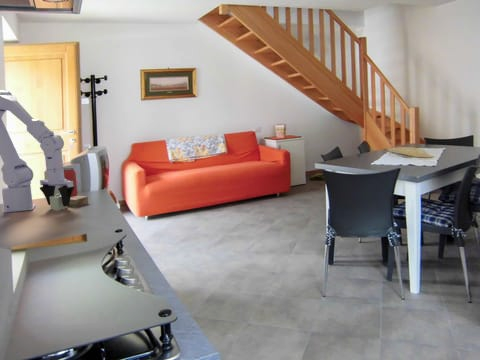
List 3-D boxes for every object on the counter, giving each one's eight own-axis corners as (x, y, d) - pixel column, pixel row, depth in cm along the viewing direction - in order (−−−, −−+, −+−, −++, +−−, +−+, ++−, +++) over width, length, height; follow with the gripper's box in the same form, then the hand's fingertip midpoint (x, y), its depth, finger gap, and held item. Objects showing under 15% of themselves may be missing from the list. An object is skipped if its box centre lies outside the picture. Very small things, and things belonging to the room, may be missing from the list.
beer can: (61, 196, 180) (59, 168, 178) (78, 194, 182) (75, 167, 180) (60, 199, 174) (57, 170, 172) (77, 197, 176) (74, 169, 174)
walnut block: (76, 207, 159) (75, 199, 159) (64, 206, 162) (64, 198, 161) (88, 204, 164) (87, 196, 164) (77, 203, 167) (76, 195, 167)
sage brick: (58, 210, 154) (57, 195, 153) (50, 210, 156) (49, 195, 155) (67, 208, 157) (65, 193, 156) (59, 207, 159) (58, 192, 158)
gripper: (78, 167, 154) (81, 204, 157) (49, 166, 161) (53, 201, 163) (62, 170, 148) (66, 208, 150) (33, 169, 154) (37, 205, 157)
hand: (58, 205), depth 156 cm, fingers open, 7 cm apart
